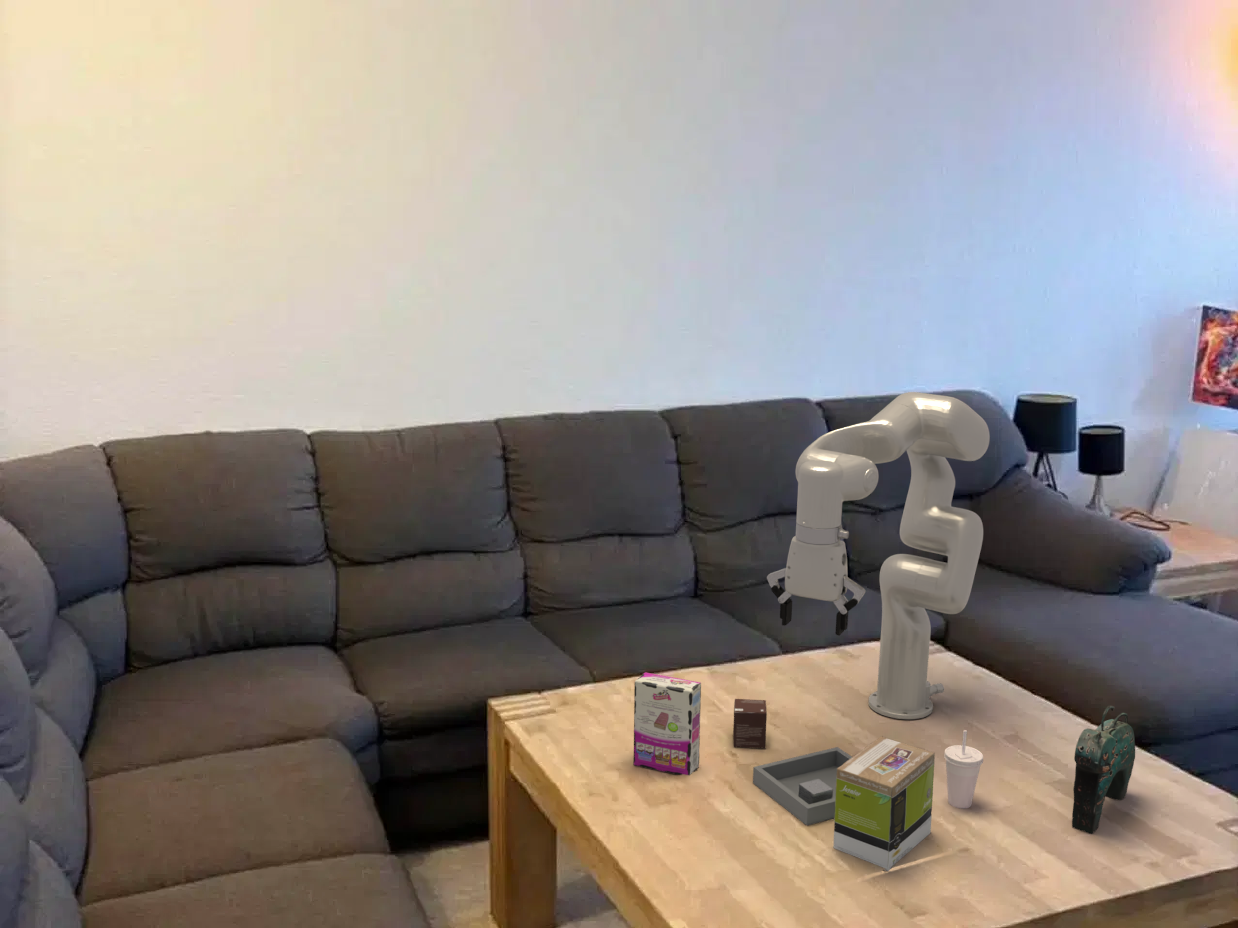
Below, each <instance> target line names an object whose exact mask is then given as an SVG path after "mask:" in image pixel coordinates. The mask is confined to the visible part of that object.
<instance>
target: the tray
mask: <svg viewBox="0 0 1238 928" xmlns="http://www.w3.org/2000/svg"><path fill="white" fill-rule="evenodd" d="M852 757H853V756H852V755H851V754H849V753H847V752H845V751H844V750H842V749H841V748H840V747H839V746H835V747H832V748H828V749H823V750H819V751H815V752H812V753H807V754H803V755H802V754H801V755H797V756H795V757H790V758H785V759H781V760H777V761H773V762H772V761H771V762H769V763H765V764H760V765H756V766H753V768H752V769H753V771H752V784H753V785H755V786H756V787H757V788H758V789H759V790H761V791H762V792H764V793H765V794H766V795H767V796H768V797H770V798H771V799H772V800H773V801H775V802H776V803H778V805H780V806H781V807H782V808H783V809H785V810H787V811H788V813H790V814H791V815H793V816H794V817H795V818H796V819H798V820H799V821H800V822H801V823H803V824H804V825H805V826H810V825H814V824H818V823H821V822H824V821H825V822H826V821H828V820H829V821H830V820H833V819H835V796H836V774H837V768H838V767H840V766H842V765H843V764H844V763H845V762H847V761H848V760H849V759H851V758H852ZM816 779H820V780H821V781H822V782H824V783H825V784H826V785H828V786H829V787H831V788H832V789H833V798H832V799H828V800H824V801H821V802H817V803H813V804H808V803H806V802H805V801H804V800H802V799H801V798H800V797H799V796H798V795H799V784H800V783H804V782H808V781H812V780H816Z"/></svg>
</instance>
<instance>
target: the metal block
mask: <svg viewBox="0 0 1238 928" xmlns="http://www.w3.org/2000/svg"><path fill="white" fill-rule="evenodd" d="M798 796H799V797H800V798H801V799H802V800H804V801H805V802H806V803H808V804H813V803H817V802H821V801H824V800H828V799H832V798H833V789H832V788H831V787H829V786H828V785H826V784H825V783H824V782H822V781H821V780H820V779H816V780H812V781H808V782H804V783H800V784H799V795H798Z"/></svg>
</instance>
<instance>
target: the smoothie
mask: <svg viewBox="0 0 1238 928" xmlns="http://www.w3.org/2000/svg"><path fill="white" fill-rule="evenodd" d="M962 732H963V733H962V745H961V744H959V745H958V744H955V745H950V746H948V747H946V748H945V749H944V755H943V757H944V759H945V768H946V770H945V771H946V784H947V785H946V788H947V802H948V804H949V805H950V806H952V807H953V808H957V809H968V808H971V806H972V803H973V798H974V794H975V790H976V786H977V782H978V777H979V773H980V769H981V765H982V764H984V754H983V753H982V752H981V751H980V750H979V749H976V748H974V747H972V746H968V745H967V736H968V730H967V729H963V731H962Z"/></svg>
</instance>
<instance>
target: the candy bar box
mask: <svg viewBox="0 0 1238 928" xmlns="http://www.w3.org/2000/svg"><path fill="white" fill-rule="evenodd" d="M701 693H702V682H700V681H696V680H695V681H694V680H688V679H684V678H678V677H674V676H673V677H672V676H667V675H663V674H655V673H650V672H646V671H645V672H644V673H642V675H640V676H639V677H638V678H637V679H636V680H635V681H634V694H633V695H634V705H633V706H634V707H633V709H634V710H633V711H634V714H633V715H634V716H633V720H634V721H633V757H632V758H633V760H632V761H633V765H634V766H635V767H641V768H644V769H650V770H655V771H657V772H664V773H668V774H672V775H677V776H682V775H685V776H691V774H692V773H694V772H696V771H698V768H699V767H700V745H701V744H700V740H701V738H700V737H701V736H700V734H701V704H702V703H701V702H702V701H701V699H702V698H701V697H702V694H701Z"/></svg>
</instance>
